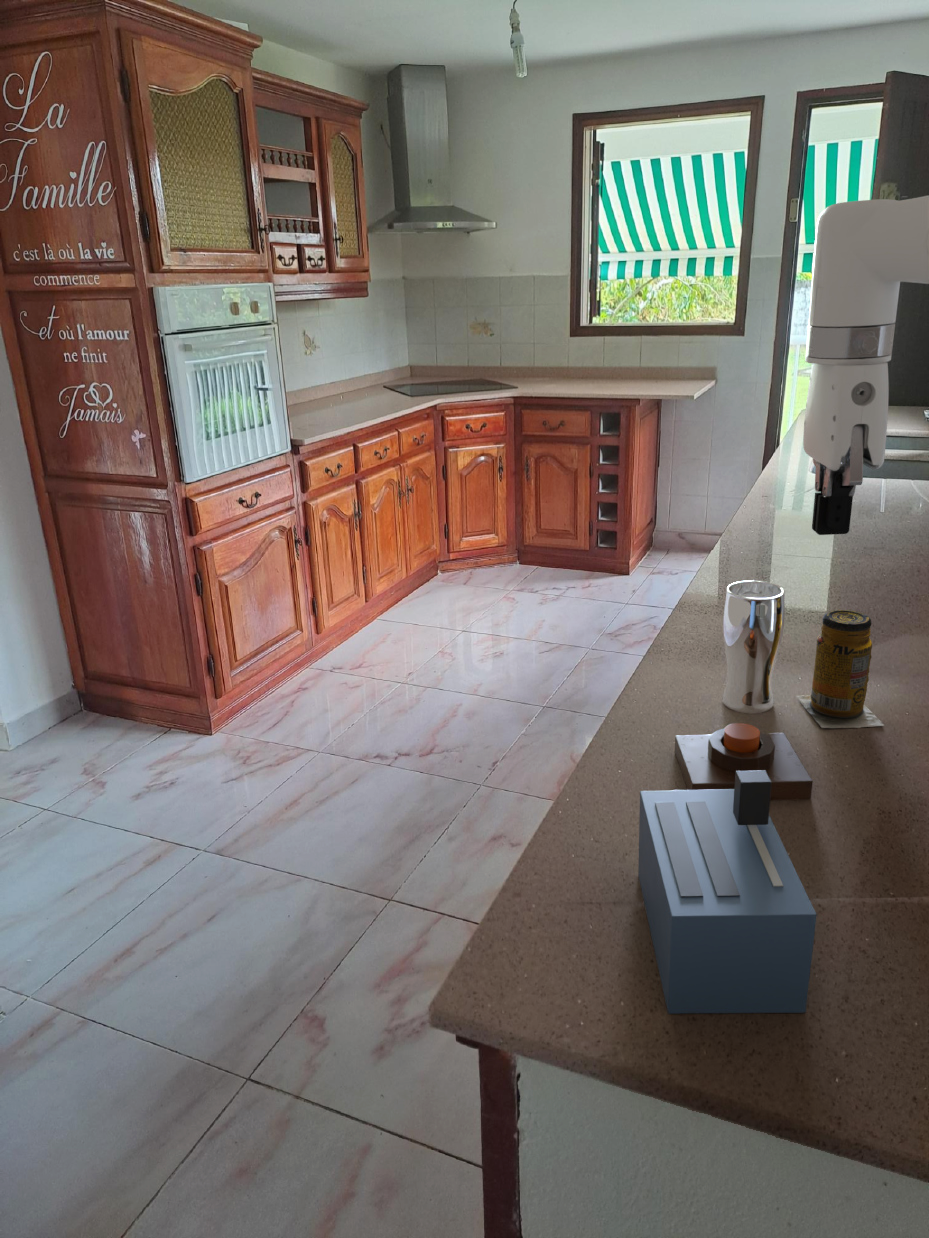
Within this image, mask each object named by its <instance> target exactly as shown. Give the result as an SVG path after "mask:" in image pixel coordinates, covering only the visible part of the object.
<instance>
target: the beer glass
mask: <svg viewBox="0 0 929 1238" xmlns="http://www.w3.org/2000/svg"><path fill="white" fill-rule="evenodd" d="M725 594H726V596H725V601H724V608H723V618H722V635H723V646H724V654H725V661H726V682H725V687H724V690H723V693H722V699H721V700H722V704H723V705H724V706H725V707H726V708H728V709H730V710H731V711H734V712H737V713H740V714H748V715H755V714H763V713H766V712H768V711H770V710H771V709H772V708H773V707H774V694H773V675H774V670H775V666H776V663H777V659H778V656H779V652H780V648H781V645H782V640H783V636H784V629H785V618H786V617H785V616H786V615H785V613H786V605H785V603H786V602H785V601H786V599H785V598H786V596H785V595H786V590H785V589H784V587H783V586H782V585H778V584H776V583H773V582H769V581H765V580H741V581H736V582H733V583H731V584H728V586H727V587H726V593H725Z"/></svg>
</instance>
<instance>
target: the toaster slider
mask: <svg viewBox="0 0 929 1238" xmlns="http://www.w3.org/2000/svg"><path fill="white" fill-rule="evenodd" d="M771 784H772V782H771V780H770V778H769V776H768V774H767V772H766V771H765V770H758V771H736V773H735V788H734V803H733V814H734V816H735V819H736V821H737V824H738V825H767V824H768V819H769V816H770V806H771V800H770V796H771Z"/></svg>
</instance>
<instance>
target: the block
mask: <svg viewBox="0 0 929 1238" xmlns="http://www.w3.org/2000/svg"><path fill="white" fill-rule="evenodd" d="M724 729H725V727H724V728H721V729H718V730H715V731H713V732H712V733H711V734H687V735H686V734H685V735H675V737H674V755H675V757H676V760H677V763H678V766H679V770H680V772H681V775H682V778H683V781H684V784H685V786H686V790H711V789H734V788H735V773H736V771H758V770H765V771H766V772H767V774H768V776H769V778H770V780H771V782H772V784H771V796H770V801H793V800H794V801H795V800H796V801H797V800H800V801H801V800H811V799H812V792H813V779H812V777H811V776H810V774H809V772H808V770H807V769H806V767H805V765H804V764H803V763H802V760H801V759H800V757H799V755H798V753H797V752H796V750H795V749H794V747H793V746H792V743H791V742H790V740H789V739H788V737H787V736H786V733H785V732H761V731H760V741H759V749H758V750H757V751H754V752H744V753H740V752H736V751H732V750H729V749H727V748H726V747H724Z"/></svg>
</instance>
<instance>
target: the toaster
mask: <svg viewBox="0 0 929 1238" xmlns="http://www.w3.org/2000/svg"><path fill="white" fill-rule="evenodd" d="M733 803H734V789H711V790H688V789H673V790H640V791H639V822H638V823H639V824H638V869H637V870H638V873H637V875H638V876H637V877H638V880H639V884H640V890H641V894H642V899H643V903H644V909H645V908H646V909H645V914H646V918H647V922H648V927H649V931H650V936H651V942H652V945H653V950H654V954H655V959H656V960H655V961H656V964H657V969H658V973H659V978H660V984H661V987H662V992H663V997H664V1001H665V1006H666V1010H667V1011H666V1012H667V1014H670V1015H672V1014H673V1015H674V1014H677V1015H679V1014H798V1013H799V1014H804V1013H806V1012H807V1003H808V996H809V995H808V994H809V986H810V977H811V968H812V959H813V949H814V941H815V933H816V925H817V917H818V916H817V913H816V910H815V908H814V906H813V904H812V902H811V899H810V898H809V895H808V894H807V891H806V889H805V887H804V884H803V883H802V881H801V879H800V877H799V875H798V872H797V870H796V868H795V866H794V864H793V862H792V860H791V857H790V856H789V854H788V852H787V849H786V847H785V845H784V843H783V841H782V839H781V836H780V835H779V833H778V830H777V829H776V827H775V825H774V822H773V820H772V818H771V815H769V819H768V824H767V825H738V824H737V821H736V819H735V816H734V814H733Z"/></svg>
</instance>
